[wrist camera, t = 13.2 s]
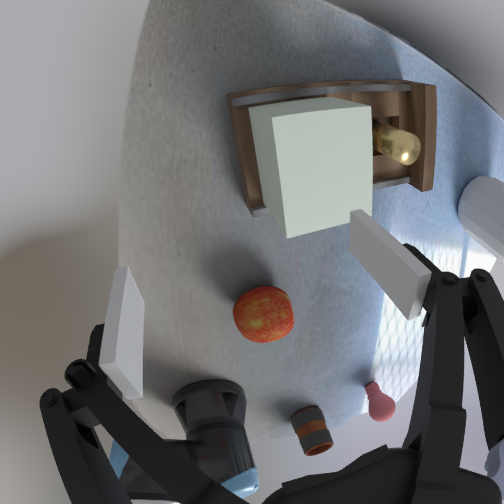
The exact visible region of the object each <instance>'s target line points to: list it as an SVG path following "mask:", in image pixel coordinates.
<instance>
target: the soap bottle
mask: <svg viewBox="0 0 504 504" xmlns="http://www.w3.org/2000/svg"><path fill="white" fill-rule="evenodd" d="M458 219H459V221H460V224H461V226H462V227H463V229H464V231H465V232H466V233H467V234H468V235H469V236H470V237H472V238H473V239H474V240H475V241H477V242H478V243H479V244H480V245H482V246H483V247H484V248H485V249H487V250H488V251H489V252H490V253H491V254H493V255H494V256H495V257H496V258H497V259H499V260H500V261H501V262H502V263H503V264H504V183H503V182H501V181H500V180H498V179H496V178H493V177H489V176H478V177H476V178H475V179H473V180H472V181H471V182H470V183H469V184H468V185H467V186H466V187H465V189H464V190H463V192H462V195H461V197H460V201H459V205H458Z"/></svg>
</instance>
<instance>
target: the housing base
mask: <svg viewBox="0 0 504 504" xmlns="http://www.w3.org/2000/svg"><path fill="white" fill-rule="evenodd" d="M319 97H333V98H338V99H343V100H347V101H352V102H356V103H360V104H364V105H368V106H371V116H372V120H375V121H378V122H381V123H384V124H387V125H390V126H392V127H395V128H398V129H401V130H404V131H406V132H409V133H412V134H414V135H416V136H417V137H418V139H419V141H420V145H421V150H420V154H419V157H418V158H417V160H416V161H415V162H414V163H412V164H410V165H404V164H402V163H400V162H398V161H396V160H394V159H392V158H390V157H388V156H386V155H384V154H382V153H380V152H378V151H376V150H374V149H373V187H372V190H375V189H380V188H385V187H389V186H394V185H399V184H404V183H408V184H410V185H412V186H413V187H415V188H417V189H418V190H420V191H421V192H424V191H429V190H432V189H433V179H434V167H435V152H436V127H437V95H436V86H435V85H430V84H424V83H419V82H413V81H407V80H345V81H327V82H314V83H303V84H294V85H285V86H277V87H269V88H262V89H256V90H250V91H244V92H238V93H232V94H227V100H228V105H229V110H230V116H231V121H232V127H233V132H234V138H235V143H236V149H237V154H238V160H239V165H240V170H241V176H242V181H243V187H244V192H245V198H246V203H247V207H248V209H249V211H250V213H251V215H252V217H257V216H261V215H265V214H270V212H269V210H268V209H267V207H266V206H265V204H264V203H263V196H262V190H261V183H260V177H259V171H258V164H257V158H256V152H255V146H254V139H253V133H252V127H251V121H250V115H249V109H248V107H253V106H259V105H265V104H272V103H278V102H285V101H293V100H301V99H310V98H319Z"/></svg>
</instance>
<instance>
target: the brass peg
mask: <svg viewBox="0 0 504 504" xmlns="http://www.w3.org/2000/svg"><path fill="white" fill-rule="evenodd" d="M372 146H373V149H374V150H376V151H378V152H380V153H382V154H384V155H386V156H388V157H390V158H392V159H394V160H396V161H398V162H400V163H402V164H404V165H410V164H412V163H414V162H415V161H416V160H417V158H418V157H419V154H420V150H421V145H420V141H419V139H418V137H417V136H416V135H414V134H412V133H409V132H406V131H404V130H401V129H398V128H395V127H392V126H390V125H387V124H384V123H381V122H378V121H375V120H372Z"/></svg>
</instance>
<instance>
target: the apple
mask: <svg viewBox="0 0 504 504" xmlns="http://www.w3.org/2000/svg"><path fill="white" fill-rule="evenodd" d="M233 317H234V321H235V324H236V326H237V328H238V329H239V331H240V332H241V334H242V335H243V336H244V337H245V338H246V339H248V340H250V341H254V342H260V343H264V342H271V341H275V340H278V339H280V338H283V337H284V336H286V335H287V334H288V333H289V332H290V331H291V329H292V328H293V325H294V315H293V311H292V306H291V302H290V299H289V297H288V295H287V294H286V293H285V292H284V291H283V290H281V289H279V288H276V287H271V286H263V287H257V288H254V289H252V290H249V291H248V292H246V293H244V294H243V295H242V296H241V297H240V298H239V299H238V300H237V301H236V303H235V304H234V307H233Z"/></svg>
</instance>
